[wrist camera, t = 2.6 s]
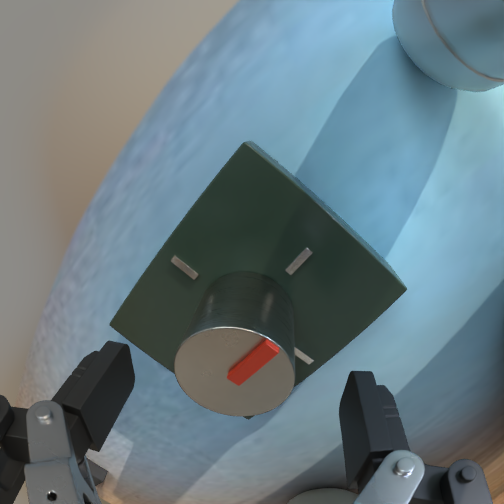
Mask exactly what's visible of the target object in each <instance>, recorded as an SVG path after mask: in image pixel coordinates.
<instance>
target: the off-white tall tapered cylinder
mask: <svg viewBox="0 0 504 504" xmlns="http://www.w3.org/2000/svg"><path fill="white" fill-rule="evenodd" d="M357 497H358V495H357V494H355V493H353V492H350V491H348V490H344V489H338V488H321V489H314V490H309V491H306V492H304V493H301V494H299V495H298V496H296V497H294V498H293V499H291V500H290V501H289V502H288V503H287V504H352V503H353V502H354V501H355V499H356V498H357Z"/></svg>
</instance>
